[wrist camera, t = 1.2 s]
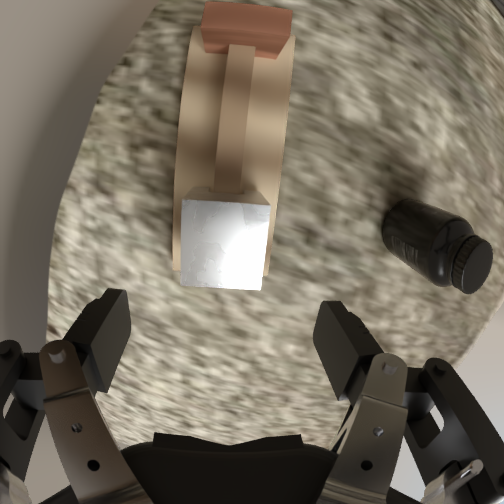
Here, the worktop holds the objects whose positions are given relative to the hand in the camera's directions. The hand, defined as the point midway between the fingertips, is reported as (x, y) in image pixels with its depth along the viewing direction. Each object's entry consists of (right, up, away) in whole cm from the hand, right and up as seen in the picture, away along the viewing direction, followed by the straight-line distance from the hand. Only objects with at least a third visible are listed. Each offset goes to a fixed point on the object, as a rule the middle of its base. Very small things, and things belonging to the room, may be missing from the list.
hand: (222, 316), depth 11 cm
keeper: (-1, +5, +13) cm, 14 cm away
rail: (-1, +12, +12) cm, 17 cm away
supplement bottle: (+18, +6, +17) cm, 26 cm away
